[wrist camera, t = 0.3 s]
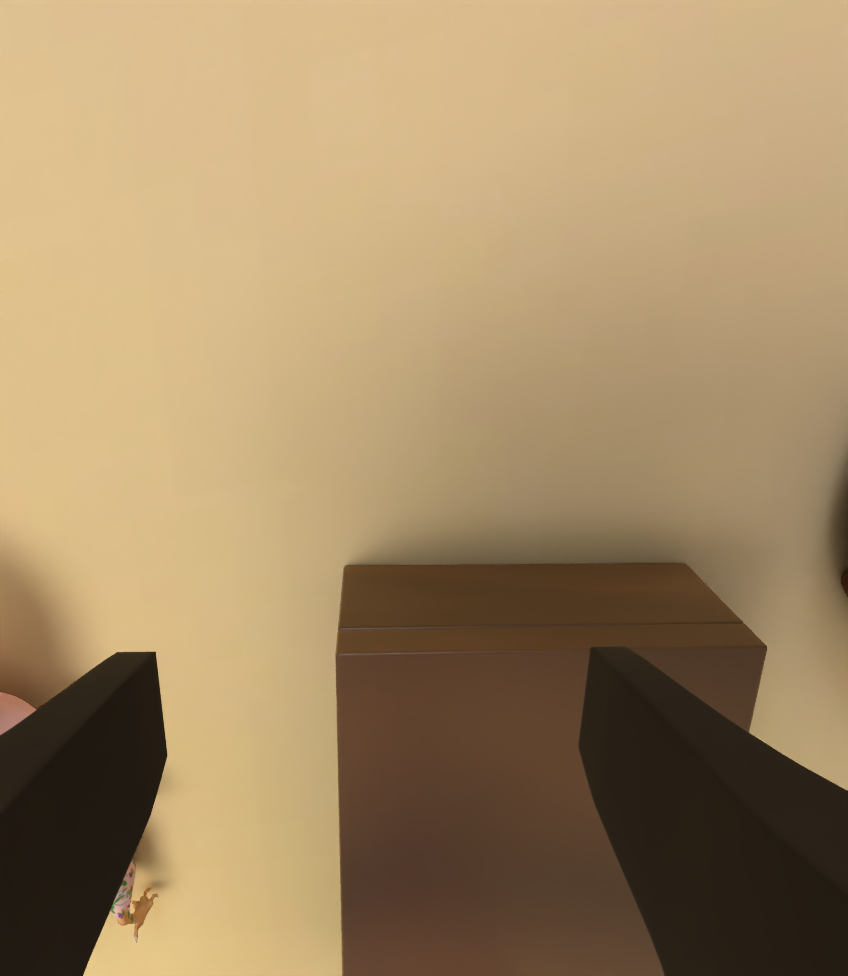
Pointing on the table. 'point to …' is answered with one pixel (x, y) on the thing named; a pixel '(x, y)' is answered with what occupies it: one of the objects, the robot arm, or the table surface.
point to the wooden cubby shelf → (501, 759)
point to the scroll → (845, 583)
